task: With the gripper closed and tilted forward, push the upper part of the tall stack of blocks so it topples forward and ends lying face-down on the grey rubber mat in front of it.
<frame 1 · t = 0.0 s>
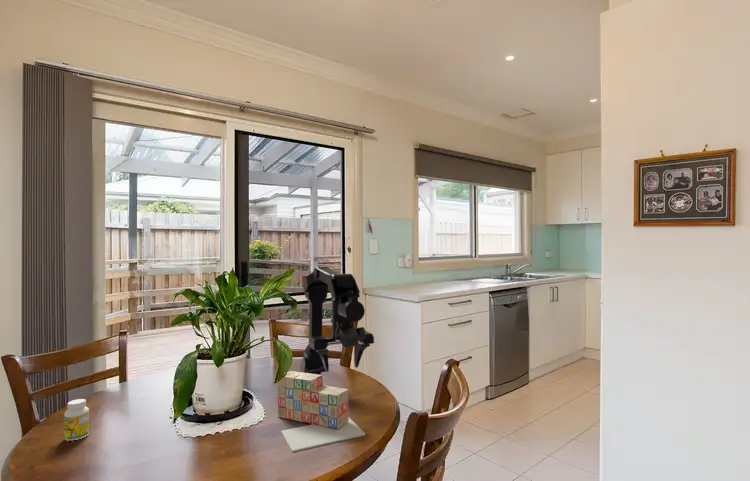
hand: (342, 369, 119), 15 cm above the table, tool pointing down, fingers open, 9 cm apart
supplement bottle: (76, 438, 108), on the table
stack of blocks: (312, 420, 118), on the table, touching rubber mat
rubber mat: (322, 433, 109), on the table
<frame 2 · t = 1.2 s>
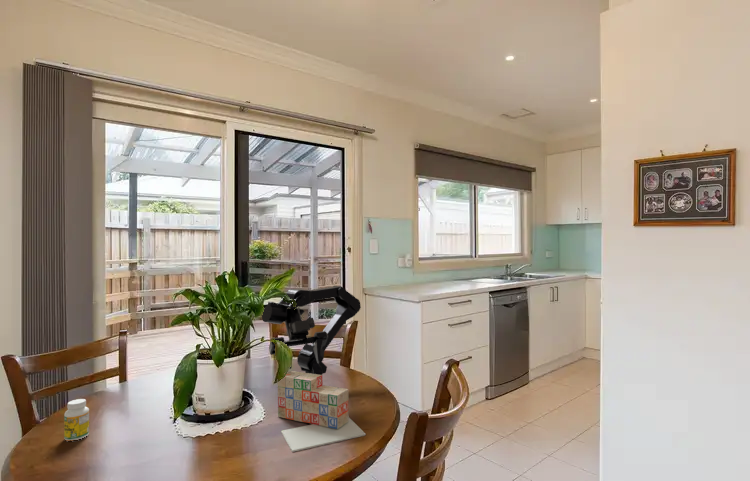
hand: (305, 365, 127), 13 cm above the table, tool tilted 45°, fingers open, 9 cm apart
nothing on the table moved.
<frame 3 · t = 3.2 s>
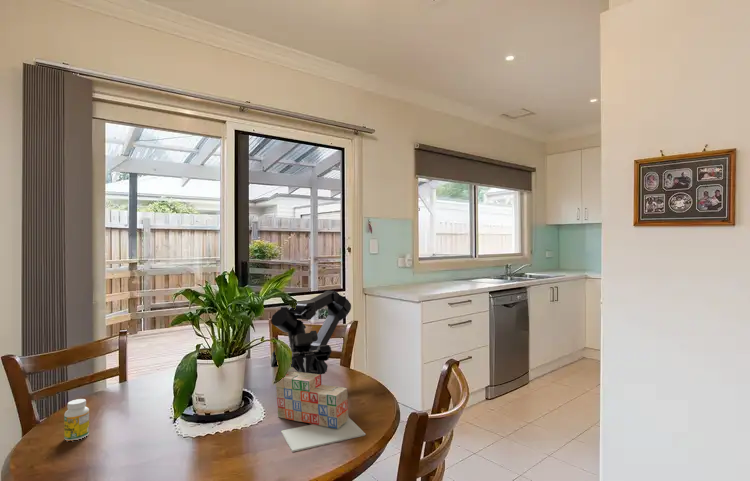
hand: (306, 380, 123), 10 cm above the table, tool tilted 45°, fingers closed
nothing on the table moved.
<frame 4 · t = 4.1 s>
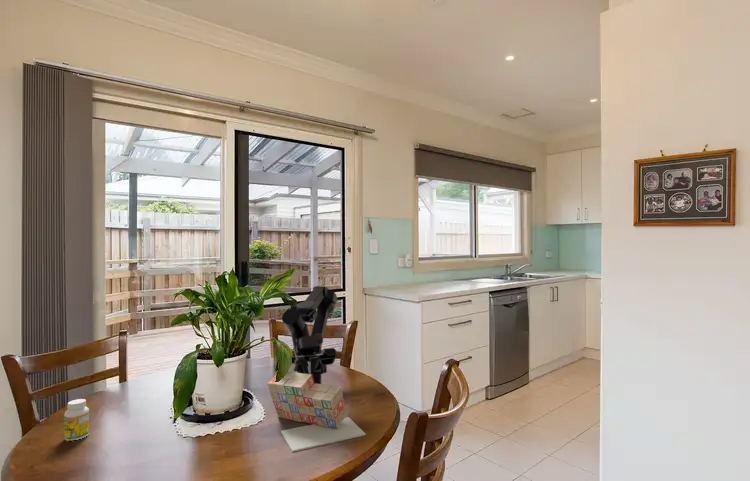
hand: (311, 384, 118), 10 cm above the table, tool tilted 45°, fingers closed
stack of blocks: (312, 416, 118), point 1 cm above the table, touching rubber mat
everything else where it was.
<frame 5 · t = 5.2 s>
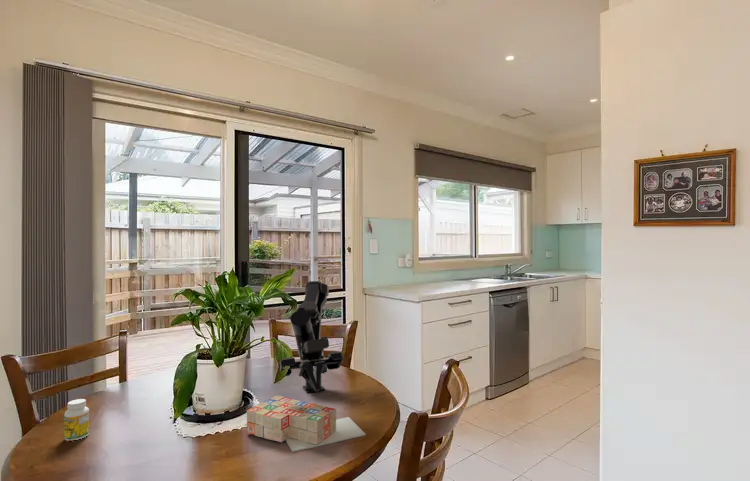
hand: (317, 390, 114), 10 cm above the table, tool tilted 45°, fingers closed
stack of blocks: (305, 411, 115), point 4 cm above the table, touching rubber mat
everything else where it was.
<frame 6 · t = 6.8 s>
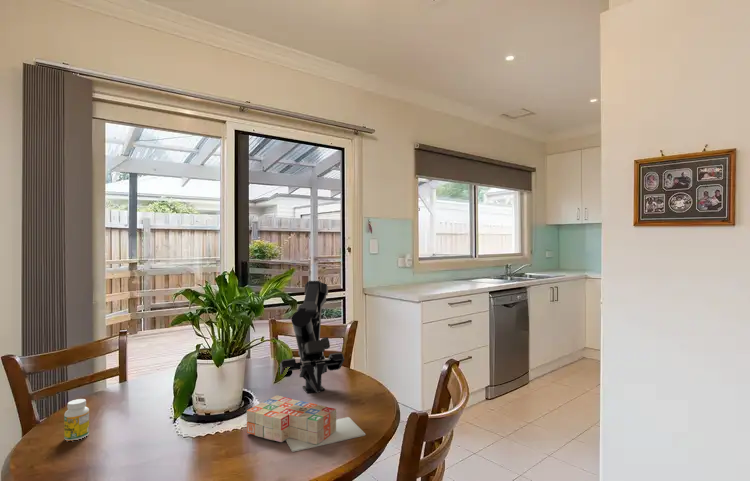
hand: (318, 391, 113), 10 cm above the table, tool tilted 45°, fingers closed
nothing on the table moved.
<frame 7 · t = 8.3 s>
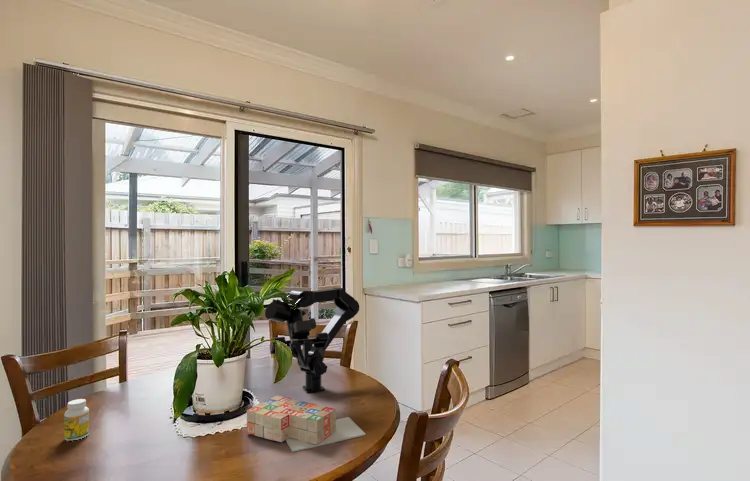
hand: (305, 366, 126), 14 cm above the table, tool tilted 45°, fingers closed
nothing on the table moved.
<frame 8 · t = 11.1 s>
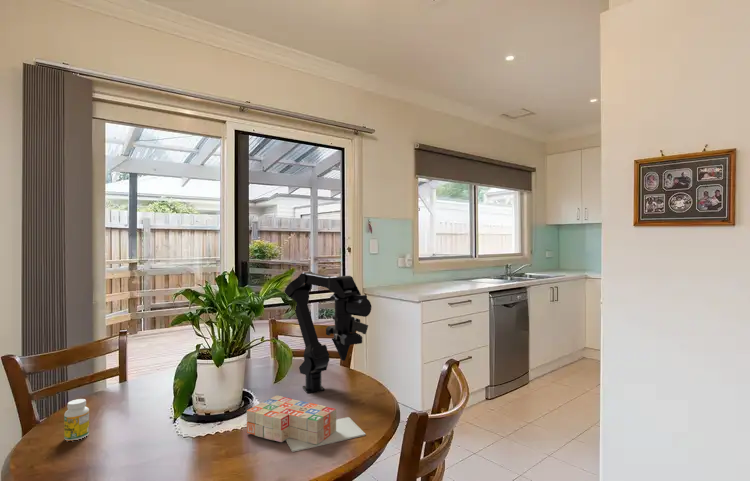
hand: (343, 360, 134), 13 cm above the table, tool pointing down, fingers closed
nothing on the table moved.
at the end: stack of blocks tilted 90°; stack of blocks inside the target area (8.2 cm from its centre), point 3.5 cm above the table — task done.
